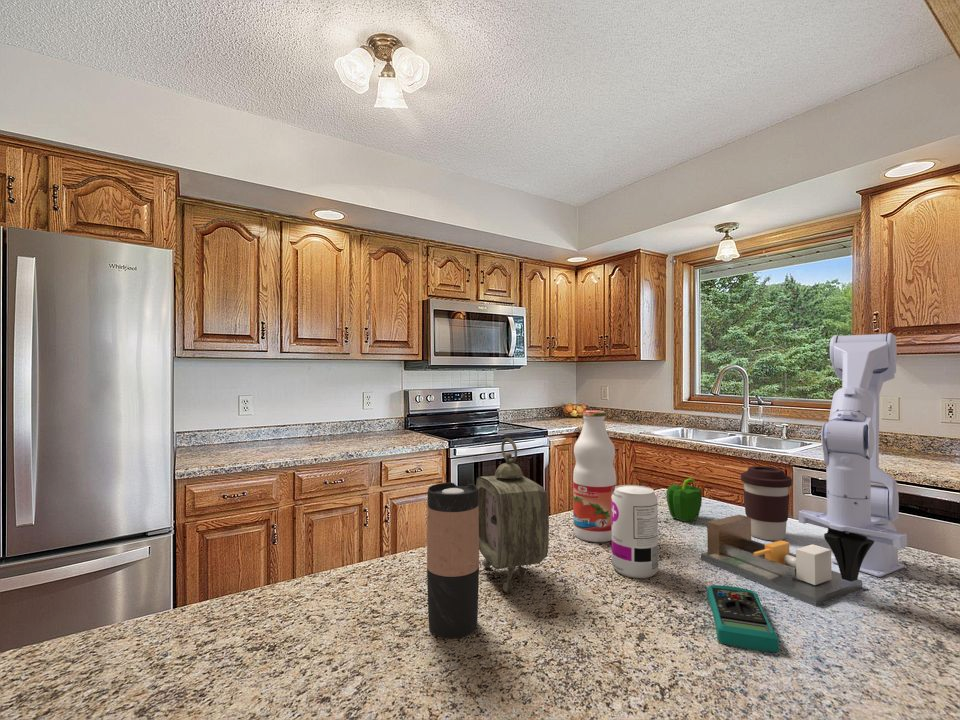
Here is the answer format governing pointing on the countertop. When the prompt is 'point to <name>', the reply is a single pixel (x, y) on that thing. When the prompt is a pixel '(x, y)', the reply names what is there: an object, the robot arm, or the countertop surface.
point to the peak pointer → (775, 551)
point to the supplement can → (634, 531)
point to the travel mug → (452, 559)
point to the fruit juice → (593, 480)
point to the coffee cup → (766, 501)
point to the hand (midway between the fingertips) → (849, 579)
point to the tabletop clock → (512, 519)
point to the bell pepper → (684, 501)
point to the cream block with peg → (811, 564)
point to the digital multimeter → (741, 619)
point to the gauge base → (765, 563)
